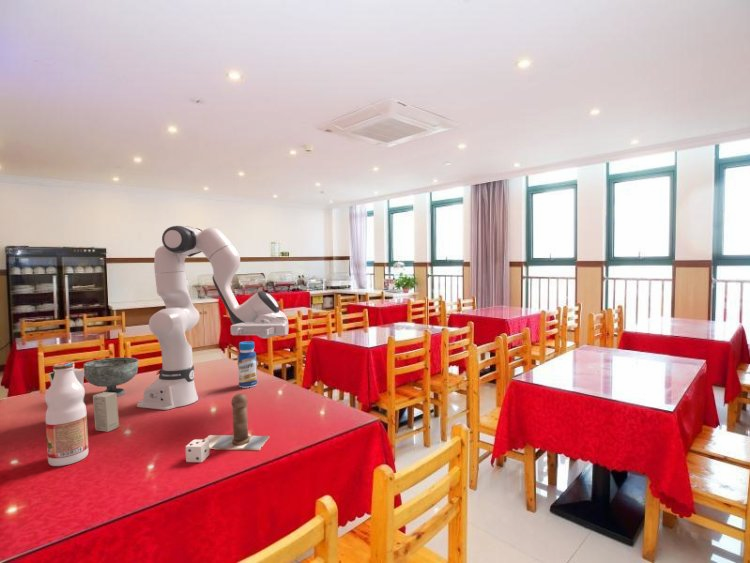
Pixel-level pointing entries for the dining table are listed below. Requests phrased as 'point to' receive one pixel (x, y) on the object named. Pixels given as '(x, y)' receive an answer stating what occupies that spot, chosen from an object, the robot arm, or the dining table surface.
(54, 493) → the dining table surface
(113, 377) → the bowl
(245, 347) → the beverage bottle
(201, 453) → the die
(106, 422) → the skincare box
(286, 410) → the dining table surface
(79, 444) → the fruit juice
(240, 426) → the pawn
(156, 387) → the robot arm
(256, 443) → the board
